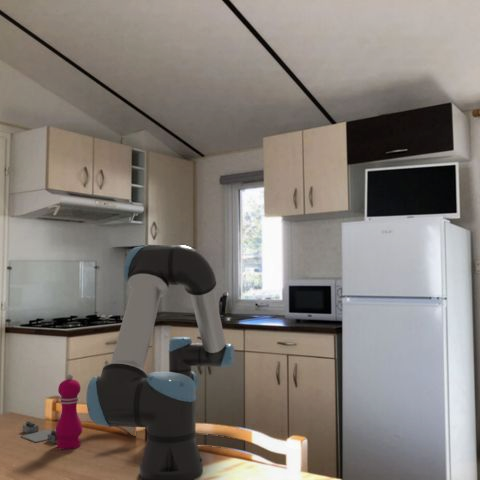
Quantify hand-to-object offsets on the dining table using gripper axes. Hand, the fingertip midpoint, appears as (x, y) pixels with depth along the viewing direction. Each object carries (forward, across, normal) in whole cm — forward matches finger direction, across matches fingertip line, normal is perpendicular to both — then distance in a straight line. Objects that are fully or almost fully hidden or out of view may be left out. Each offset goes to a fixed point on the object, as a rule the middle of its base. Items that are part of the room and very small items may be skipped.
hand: (101, 399), depth 164 cm
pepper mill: (+11, 0, -11) cm, 15 cm away
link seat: (+11, +14, -11) cm, 21 cm away
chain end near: (+11, +7, -11) cm, 17 cm away
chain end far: (+11, +22, -11) cm, 27 cm away
